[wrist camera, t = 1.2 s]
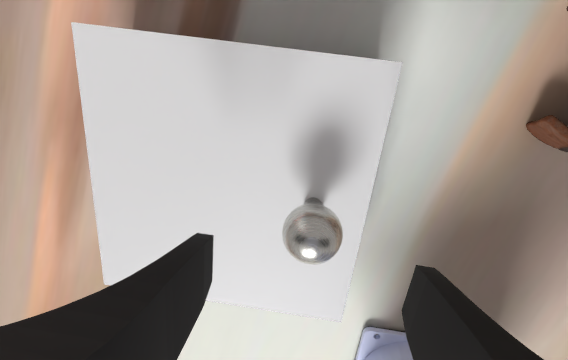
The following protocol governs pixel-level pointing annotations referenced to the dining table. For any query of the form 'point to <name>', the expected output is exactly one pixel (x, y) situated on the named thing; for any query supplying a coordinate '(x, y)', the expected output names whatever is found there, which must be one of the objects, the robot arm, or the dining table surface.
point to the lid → (233, 160)
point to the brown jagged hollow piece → (550, 131)
